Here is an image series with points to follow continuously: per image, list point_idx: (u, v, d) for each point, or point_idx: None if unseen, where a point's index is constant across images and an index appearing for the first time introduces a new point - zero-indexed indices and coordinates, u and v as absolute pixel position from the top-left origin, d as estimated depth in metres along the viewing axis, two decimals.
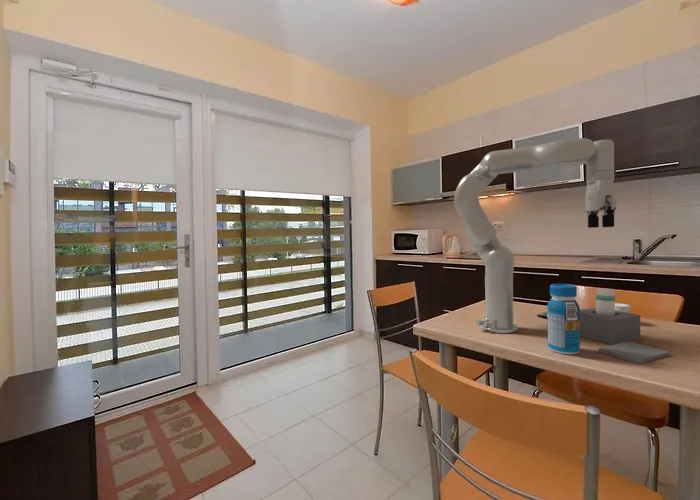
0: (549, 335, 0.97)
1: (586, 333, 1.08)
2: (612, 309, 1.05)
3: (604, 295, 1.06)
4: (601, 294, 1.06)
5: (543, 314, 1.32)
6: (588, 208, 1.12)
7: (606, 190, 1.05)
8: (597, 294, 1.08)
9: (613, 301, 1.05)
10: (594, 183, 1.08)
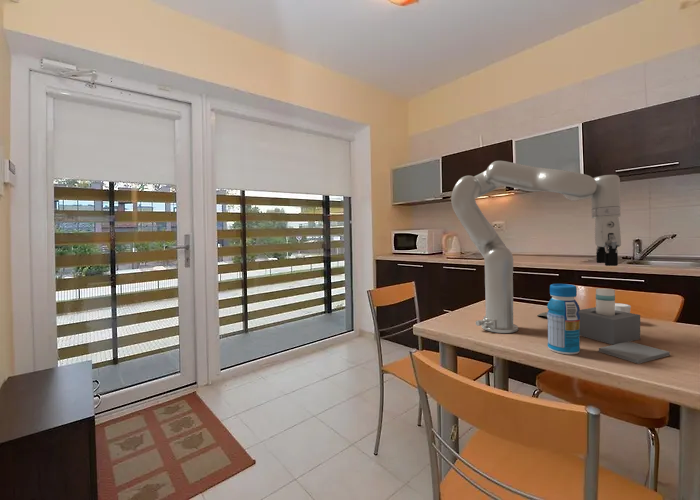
0: (549, 335, 0.97)
1: (586, 333, 1.08)
2: (612, 309, 1.05)
3: (604, 295, 1.06)
4: (601, 294, 1.06)
5: (543, 314, 1.32)
6: None
7: None
8: (597, 294, 1.08)
9: (613, 301, 1.05)
10: None
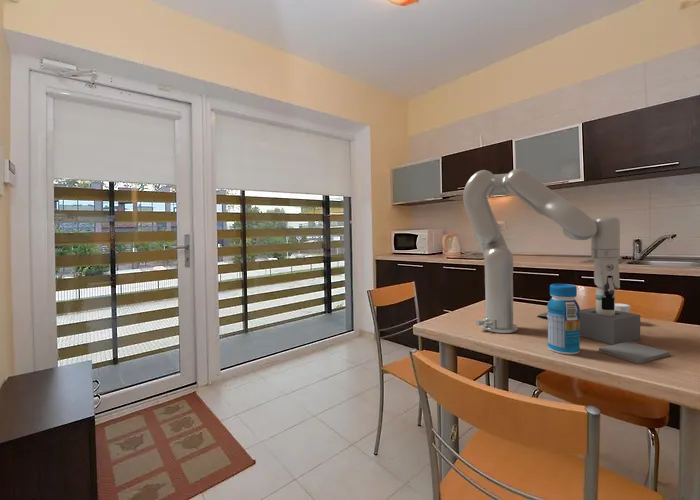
0: (549, 335, 0.97)
1: (586, 333, 1.08)
2: None
3: None
4: (601, 294, 1.06)
5: (543, 315, 1.31)
6: None
7: None
8: (597, 294, 1.08)
9: None
10: None
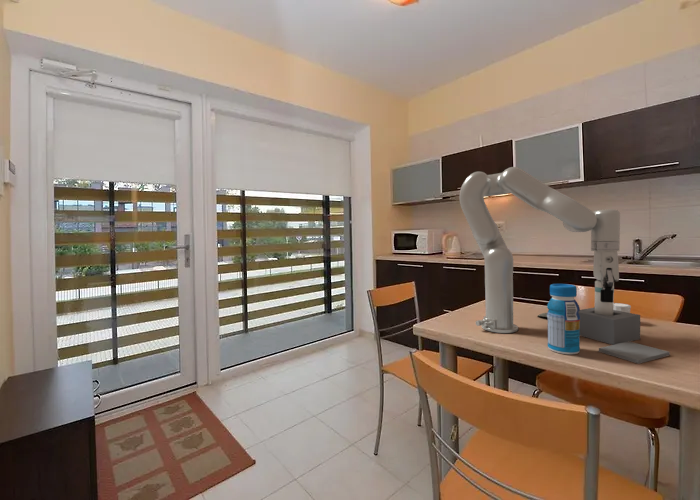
0: (549, 335, 0.97)
1: (586, 333, 1.08)
2: None
3: None
4: (600, 286, 1.06)
5: (543, 315, 1.31)
6: None
7: None
8: (596, 286, 1.07)
9: None
10: None
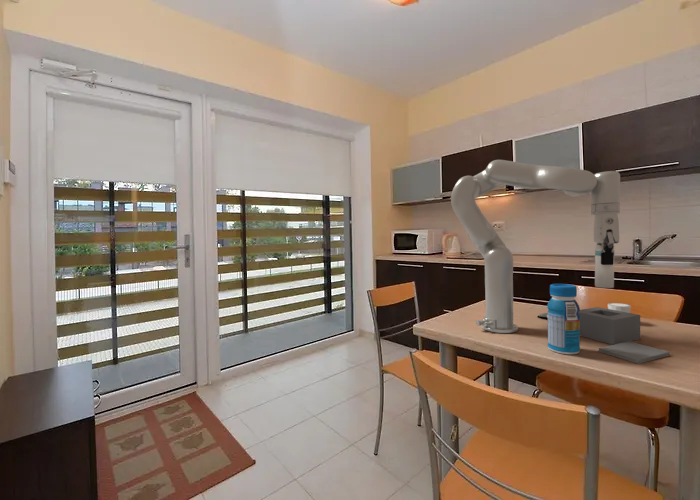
0: (549, 335, 0.97)
1: (586, 333, 1.08)
2: None
3: None
4: (600, 249, 1.06)
5: (543, 315, 1.31)
6: None
7: None
8: (596, 250, 1.07)
9: None
10: None
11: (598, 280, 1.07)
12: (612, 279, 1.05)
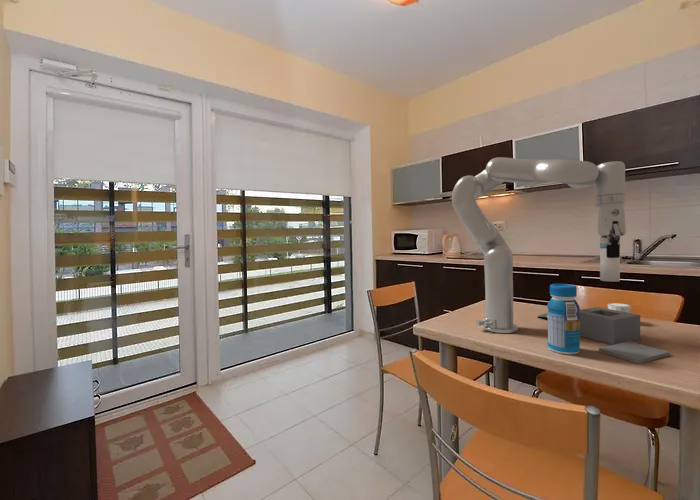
0: (549, 335, 0.97)
1: (586, 333, 1.08)
2: None
3: None
4: (606, 242, 1.03)
5: (543, 315, 1.30)
6: None
7: None
8: (602, 243, 1.04)
9: None
10: None
11: (604, 273, 1.04)
12: (618, 272, 1.02)
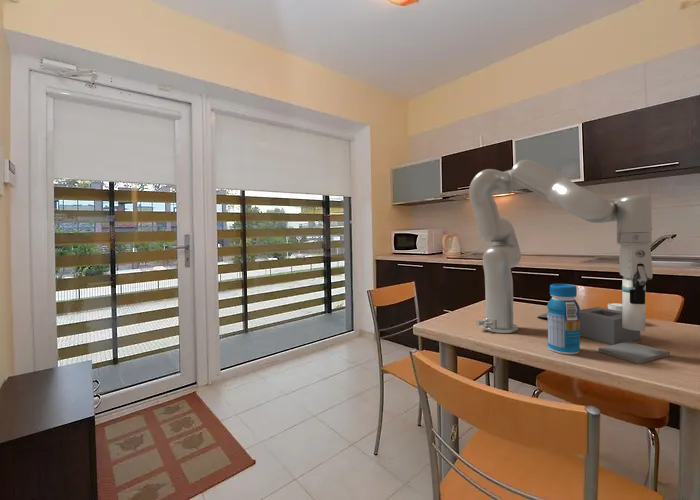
0: (549, 335, 0.97)
1: (586, 333, 1.08)
2: None
3: None
4: (629, 286, 0.91)
5: (544, 316, 1.30)
6: None
7: None
8: (624, 286, 0.92)
9: None
10: None
11: (627, 320, 0.92)
12: (643, 320, 0.90)
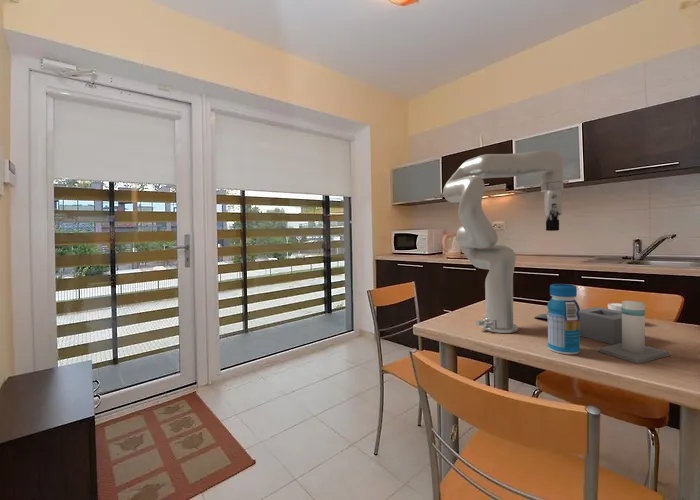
0: (549, 335, 0.97)
1: (586, 333, 1.08)
2: (642, 326, 0.90)
3: (632, 310, 0.90)
4: (629, 308, 0.91)
5: (541, 316, 1.29)
6: None
7: None
8: (624, 308, 0.92)
9: (643, 316, 0.90)
10: None
11: (626, 342, 0.92)
12: (643, 343, 0.90)
